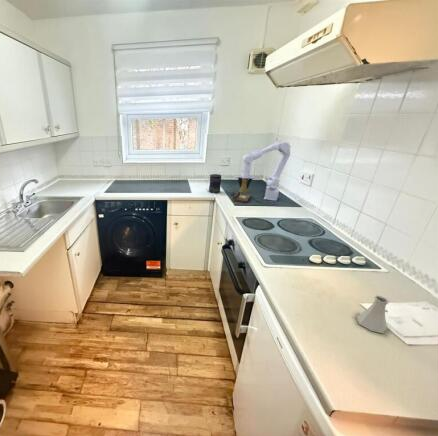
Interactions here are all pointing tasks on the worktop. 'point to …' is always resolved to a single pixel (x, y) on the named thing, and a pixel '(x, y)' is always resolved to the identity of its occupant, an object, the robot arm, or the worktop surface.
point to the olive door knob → (244, 185)
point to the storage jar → (215, 183)
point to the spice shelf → (241, 197)
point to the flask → (375, 315)
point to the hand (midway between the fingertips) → (243, 187)
